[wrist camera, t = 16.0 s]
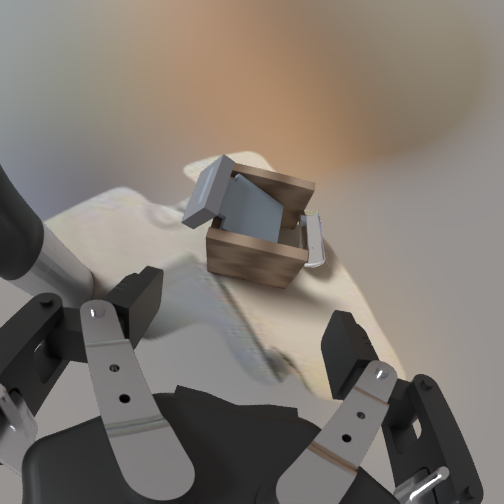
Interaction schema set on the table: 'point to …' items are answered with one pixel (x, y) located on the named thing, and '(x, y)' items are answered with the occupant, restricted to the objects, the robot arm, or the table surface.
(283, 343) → the table surface
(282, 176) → the stand
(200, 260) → the table surface
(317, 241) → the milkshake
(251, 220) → the trapdoor
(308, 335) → the table surface
